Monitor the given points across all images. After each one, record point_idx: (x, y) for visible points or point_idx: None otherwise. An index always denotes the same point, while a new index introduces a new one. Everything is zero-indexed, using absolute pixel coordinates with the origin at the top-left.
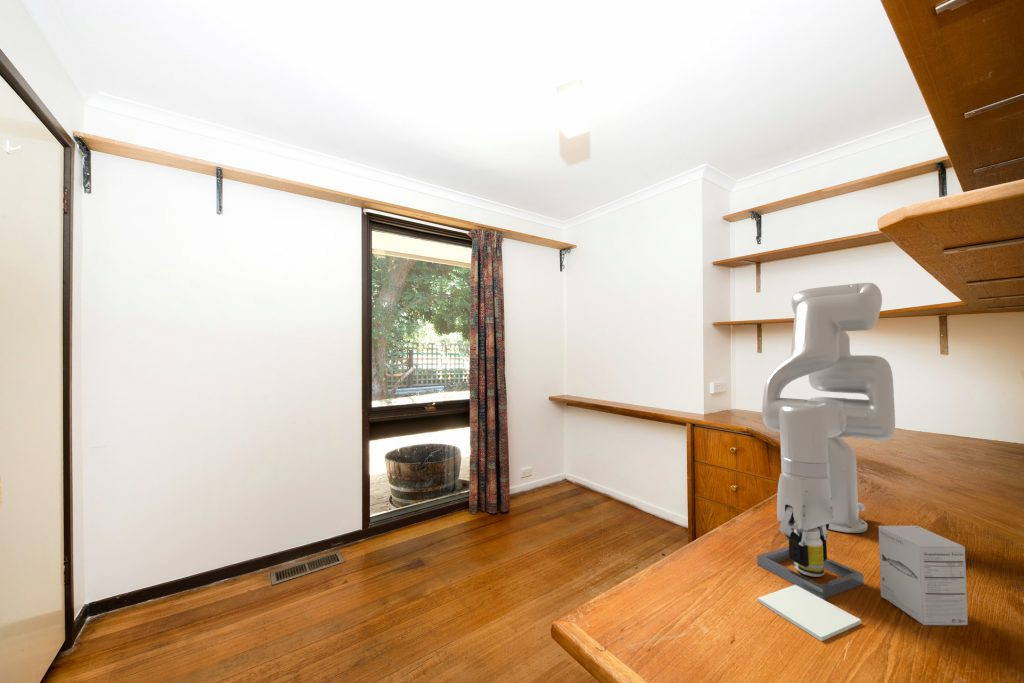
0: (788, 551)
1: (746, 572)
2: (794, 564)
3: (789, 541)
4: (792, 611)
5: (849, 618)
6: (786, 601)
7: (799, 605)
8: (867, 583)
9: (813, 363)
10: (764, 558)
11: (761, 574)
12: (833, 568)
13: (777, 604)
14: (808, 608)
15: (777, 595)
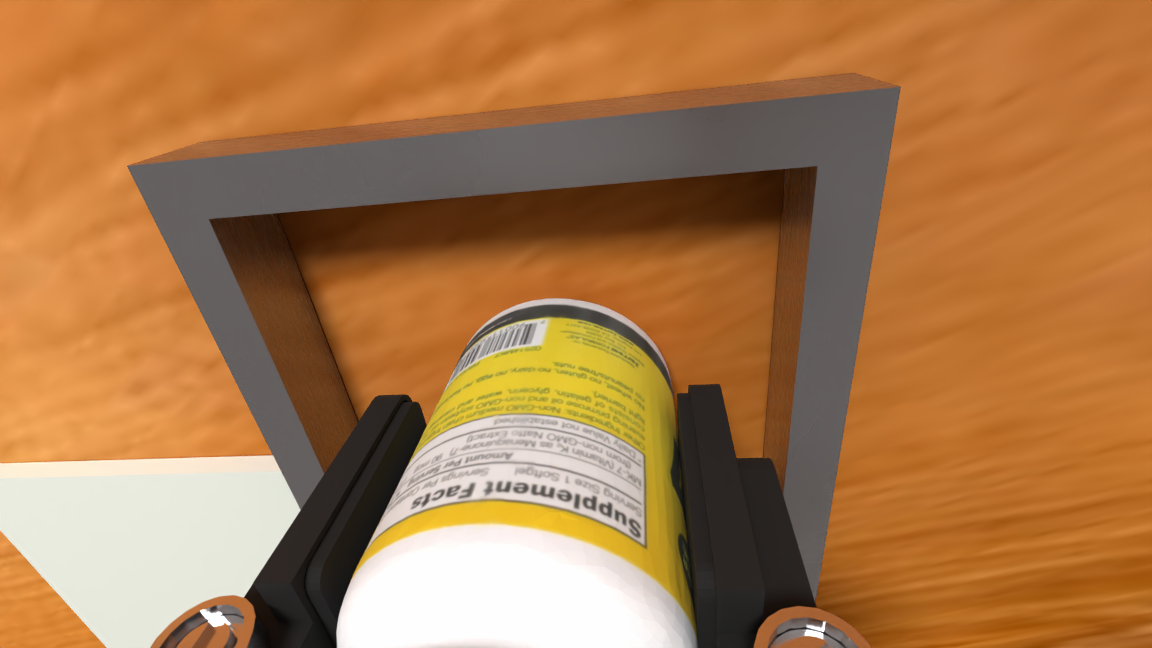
0: (621, 176)
1: (27, 213)
2: (461, 355)
3: (275, 560)
4: (104, 584)
5: None
6: (117, 540)
7: (170, 574)
8: (824, 553)
9: None
10: (179, 240)
11: (150, 274)
12: (771, 453)
13: (52, 538)
14: (205, 593)
15: (92, 501)
